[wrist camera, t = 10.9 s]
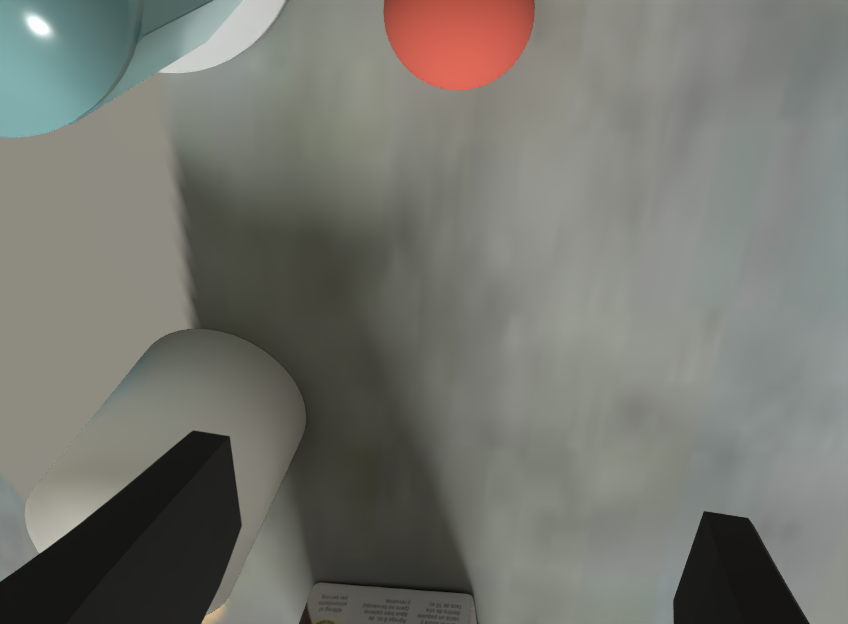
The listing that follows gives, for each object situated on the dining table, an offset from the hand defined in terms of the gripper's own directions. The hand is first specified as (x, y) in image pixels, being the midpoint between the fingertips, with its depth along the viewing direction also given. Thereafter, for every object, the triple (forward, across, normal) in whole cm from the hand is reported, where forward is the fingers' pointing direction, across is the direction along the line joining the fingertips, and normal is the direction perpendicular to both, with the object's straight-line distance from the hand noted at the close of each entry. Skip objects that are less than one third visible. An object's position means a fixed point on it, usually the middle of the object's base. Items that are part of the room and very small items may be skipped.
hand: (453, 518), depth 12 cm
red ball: (+8, +1, -6) cm, 10 cm away
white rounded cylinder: (+10, +8, +7) cm, 15 cm away
